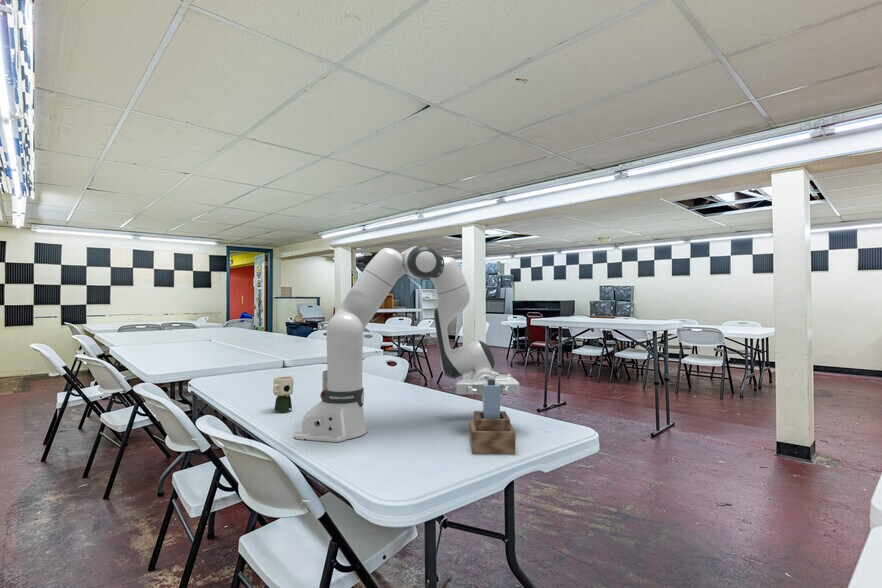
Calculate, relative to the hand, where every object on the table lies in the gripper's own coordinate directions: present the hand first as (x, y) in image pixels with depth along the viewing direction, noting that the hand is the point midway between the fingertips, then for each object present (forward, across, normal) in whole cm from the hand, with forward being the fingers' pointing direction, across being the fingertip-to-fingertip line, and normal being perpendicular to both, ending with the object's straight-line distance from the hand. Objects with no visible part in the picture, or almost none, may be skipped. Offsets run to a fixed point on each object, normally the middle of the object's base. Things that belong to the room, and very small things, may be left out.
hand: (489, 392), depth 125 cm
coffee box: (-32, -56, +15) cm, 66 cm away
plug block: (+5, 0, +9) cm, 10 cm away
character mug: (-32, -76, +15) cm, 84 cm away
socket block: (+5, 0, +15) cm, 15 cm away
